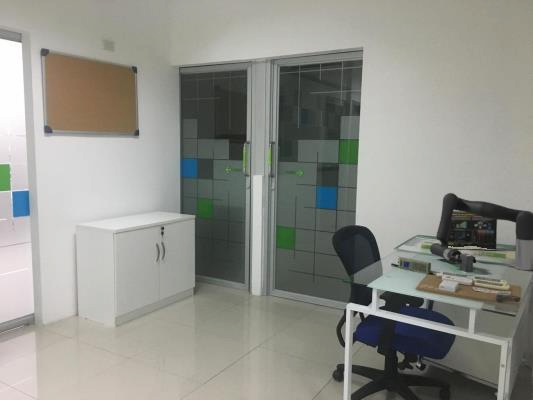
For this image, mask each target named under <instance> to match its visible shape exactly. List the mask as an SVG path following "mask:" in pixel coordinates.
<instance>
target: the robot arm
mask: <svg viewBox="0 0 533 400" xmlns="http://www.w3.org/2000/svg"><path fill="white" fill-rule="evenodd" d="M453 211H464V212H468V213H471V214H474V215H478V216H481V217H485V218H490V219H497V221H498V220H499V221H508V222H512V223H515V249H514V250H515V252H514V253H515V254H514V269H517V270H521V271H532V270H533V212H532V211H530V210H523V209H522V210H521V209H515V208H510V207H506V206H504V205H503V206H502V205H499V204H497V203H493V202H492V203H491V202H489V201H488V202H487V201H484V200H483V201H482V200H468V199H464V198H461V197H459V196H457V195H456V194H455V193H453V192H449V193H446V194H444V196H443V198H442V209H441V216H440V221H439V225H438V228H437V232H436V237H435V239H436V240H438V241H439V242H440V244H439V243H432V244H431V245H430V247H429V251H430V253H431V254H432V255H435V256H438V257H441V258H442V259H445V260H446V261H448V262H451V263H452V264H462V260H461V259H460V254H463V253H462V251H461V250H455V249H452V248H448V237H449V233H450V229H451V219H452V214H453ZM473 264H477V259H476V256H473Z"/></svg>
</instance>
